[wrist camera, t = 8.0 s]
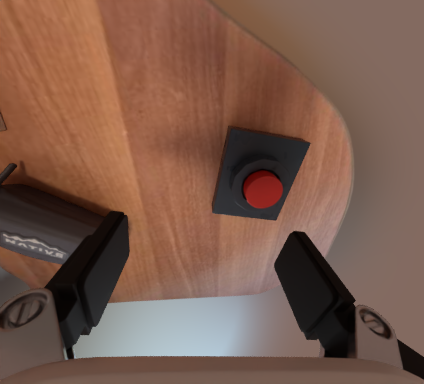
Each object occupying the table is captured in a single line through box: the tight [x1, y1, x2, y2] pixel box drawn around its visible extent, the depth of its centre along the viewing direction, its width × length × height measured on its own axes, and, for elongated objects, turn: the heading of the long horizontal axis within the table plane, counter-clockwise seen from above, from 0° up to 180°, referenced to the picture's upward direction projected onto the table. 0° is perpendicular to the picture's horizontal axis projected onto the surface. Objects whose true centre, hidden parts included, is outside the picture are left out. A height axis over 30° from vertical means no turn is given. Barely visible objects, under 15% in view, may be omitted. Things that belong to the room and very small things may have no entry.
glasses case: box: [0, 163, 105, 265], centre depth 24 cm, size 18×10×8 cm, turn 58°
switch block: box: [212, 126, 310, 220], centre depth 24 cm, size 12×10×4 cm
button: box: [243, 170, 283, 208], centre depth 21 cm, size 4×4×2 cm
